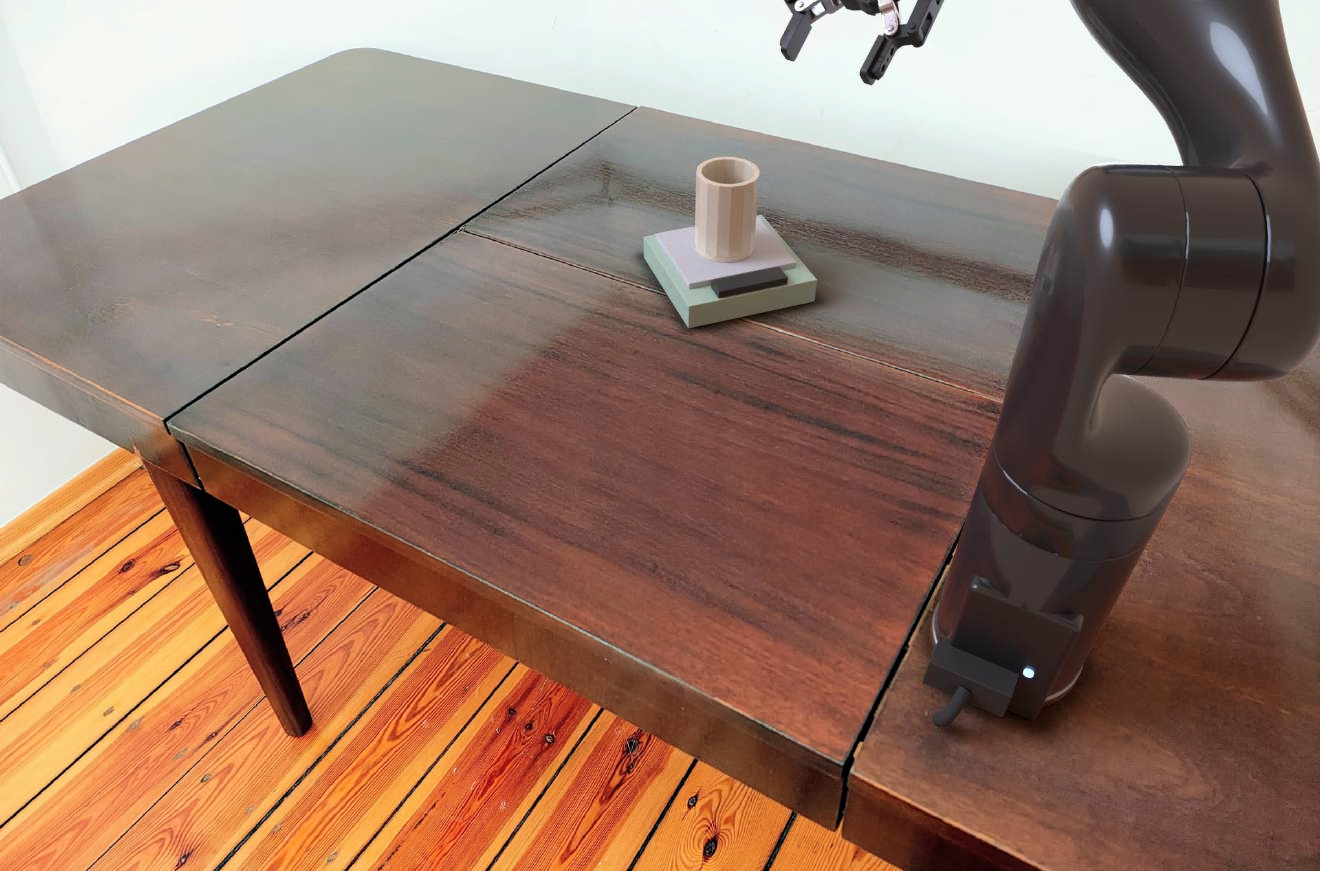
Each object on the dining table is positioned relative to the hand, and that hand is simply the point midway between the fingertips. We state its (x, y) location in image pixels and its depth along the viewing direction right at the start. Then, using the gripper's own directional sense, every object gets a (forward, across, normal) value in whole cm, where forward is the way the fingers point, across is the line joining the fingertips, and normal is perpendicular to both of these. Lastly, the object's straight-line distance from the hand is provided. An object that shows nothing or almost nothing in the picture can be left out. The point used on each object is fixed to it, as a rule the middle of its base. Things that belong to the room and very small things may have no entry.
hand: (825, 68), depth 85 cm
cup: (+18, -3, +4) cm, 18 cm away
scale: (+20, -2, +6) cm, 21 cm away
